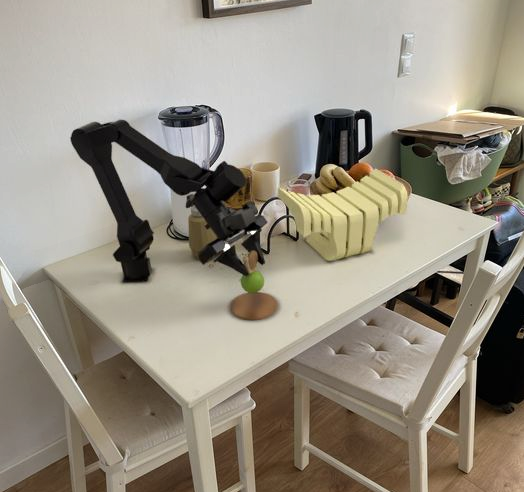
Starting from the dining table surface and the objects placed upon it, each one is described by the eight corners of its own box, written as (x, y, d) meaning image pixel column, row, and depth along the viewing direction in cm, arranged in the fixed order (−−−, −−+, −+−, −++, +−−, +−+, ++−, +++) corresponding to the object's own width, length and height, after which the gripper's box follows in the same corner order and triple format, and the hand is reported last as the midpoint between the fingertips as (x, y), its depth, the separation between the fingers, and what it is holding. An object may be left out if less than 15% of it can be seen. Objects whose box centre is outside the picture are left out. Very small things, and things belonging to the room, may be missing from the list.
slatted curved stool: (303, 272, 134) (304, 209, 124) (279, 246, 147) (277, 187, 137) (401, 248, 143) (409, 187, 133) (370, 225, 155) (375, 168, 145)
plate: (229, 321, 118) (229, 319, 118) (231, 294, 127) (231, 292, 127) (277, 319, 118) (277, 317, 117) (276, 293, 127) (276, 291, 127)
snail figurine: (235, 297, 119) (232, 251, 112) (246, 283, 124) (244, 238, 117) (257, 301, 117) (255, 255, 110) (267, 287, 122) (266, 242, 115)
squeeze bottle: (190, 249, 147) (182, 189, 137) (219, 247, 148) (213, 187, 138) (190, 263, 141) (181, 201, 131) (219, 261, 141) (213, 199, 131)
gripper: (203, 209, 103) (248, 273, 104) (260, 180, 115) (300, 237, 116) (179, 234, 112) (221, 293, 112) (234, 205, 124) (272, 258, 124)
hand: (255, 269), depth 116 cm, fingers closed on snail figurine, 5 cm apart
